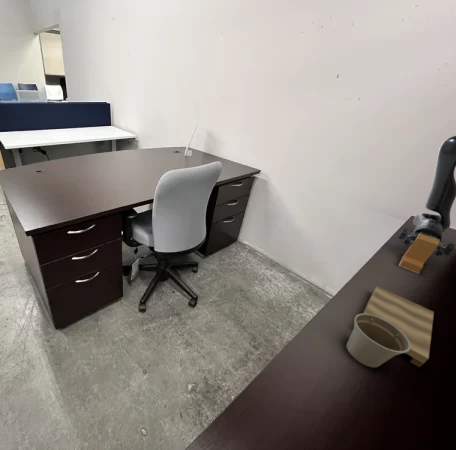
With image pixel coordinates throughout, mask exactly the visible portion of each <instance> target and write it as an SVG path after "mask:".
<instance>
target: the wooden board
mask: <svg viewBox="0 0 456 450" xmlns="http://www.w3.org/2000/svg"><path fill="white" fill-rule="evenodd" d="M364 313H366V314H371V315H375V316H378V317H380V318H382V319H384V320H386V321H388V322H390V323H391V324H393V325H394V326H396V327H397V328H398V329H399V330H401V331H402V332H403V333H404V334H405V335H406V337H407V338H408V340H409V341H410V344H411V349H410V350H409V351H408V352H407V353H405V354H406V355H408V356H410V359H409V362H410V363H411V364H413V365H414V366H416V367H418V368H421V367H422V366H423V365H424V364H425V363H426V362H427V361H428V360H429V358H430V351H431V341H432V333H433V325H434V324H433V323H434V316H435V315H434V314H435V311H433V310H431V309H428V308H426V307H425V306H422V305H420V304H418V303H415V302H413V301H411V300H409V299H407V298H404V297H402V296H400V295H398V294H397V293H393V292H391V291H389V290H387V289H384V288H383V287H380V286H376V287H375V289H374V290H373V291H372V293H371V295H370V297H369V299H368V302H367V303H366V305H365V308H364V310H363V312H362V314H364Z"/></svg>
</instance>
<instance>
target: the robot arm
mask: <svg viewBox="0 0 456 450" xmlns="http://www.w3.org/2000/svg"><path fill="white" fill-rule="evenodd" d="M436 157H437V158H436V164H435V170H434V178H433V183H432V188H431V190H430V193H429V194H428V197H427V201H426V203H425V209H426V210H429V211H431V212H434V213H437V214H433V213H425V212H421V213H418V214H416V215H415V216H414V218H413V220H412V226H413V227H414V229H413V231H412V232H410V231H409V230H408V229H407V228H403V229H402V230H401V232H400V233H399V235H398V237H397V239H399V240H403V241H402V242H403V243H404V245H405V246H408V245H409V244H410V243H411V244H412V243H413V242H414V240H415V239H416V237H417V236H418V235H419V233H420V234H423V235H426V236H429V237H433V238H436V239H439V245H438V246H437V247H436V249H435V250H434V252H435V254H434V255H435V256H437V257H439V256H441V257H442V256H443V255H444V256H445V255H446V256H450V255H451V254H452V253H453V251H455V244H453V243H450V242H449V243H444V242H443V241H442V238H443V234H444V232H446V231H448V230H449V229H450V228H451V211H452V210H451V209H452V207H453V204H454V202H455V200H456V178H455V170H456V135H454V136H453V135H452V136H450V137H449V136H448V138H445V139H444V140H443V141H442V143H441V144H440V146H439V149H438V152H437V156H436Z"/></svg>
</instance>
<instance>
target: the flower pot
mask: <svg viewBox="0 0 456 450" xmlns="http://www.w3.org/2000/svg"><path fill="white" fill-rule="evenodd" d="M353 321H354V322H353V329H352V331H351V334H350V336H349V338H348V341H347V343H346V350H347V351H348V353H349V354H350V356H352V357H353V358H354V359H355V360H356V361H357V362H359V363H360V364H362V365H364V366H366V367H370V368H379V367H380V366H382V365H383V364H384V363H386V362H387V361H389V360H390V359H392V358H394V357H395V356H398V355H399V356H400V355H401V354H406V353H407V352H408V351H409V350H410V349H411V344H410V341H409V340H408V338H407V337H406V335H405V334H404V333H403V332H402V331H401V330H399V329H398V328H397V327H396V326H394V325H393V324H391V323H390V322H388V321H386V320H384V319H382V318H380V317H378V316H375V315H371V314H366V313H364V314H363V313H358V314H356V315H355V316H354V320H353Z"/></svg>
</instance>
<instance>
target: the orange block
mask: <svg viewBox="0 0 456 450" xmlns="http://www.w3.org/2000/svg"><path fill="white" fill-rule="evenodd" d="M438 245H439V239H436V238H433V237H429V236H426V235H423V234H420V233H419V235H418V236H417V237H416V239H415V240H414V242H413V243H411V244H410V246H409V248H408V249H407V250H406V252H404V254H403V255H402V257H401V260H400V261H399V264H398V266H399V267H402V268H403V269H406V270H409V271H411V272H413V273H416V274H420V273H421V271H422V270H423V268H424V264H425V263H426V262H427V261H428V259H429V258H430V257H431V256H432V254H433V253H434V252H435V249H436V247H437V246H438Z"/></svg>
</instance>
